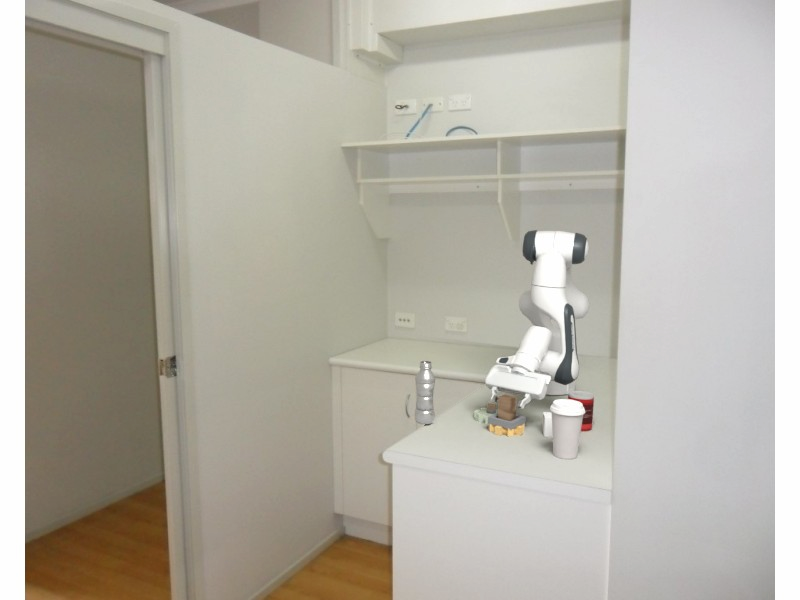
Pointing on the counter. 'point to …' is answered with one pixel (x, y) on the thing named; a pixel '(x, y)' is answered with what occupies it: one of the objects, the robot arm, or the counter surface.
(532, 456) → the counter surface
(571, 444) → the coffee cup
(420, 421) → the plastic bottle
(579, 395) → the canned food
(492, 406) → the gear
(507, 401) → the peg
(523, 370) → the robot arm
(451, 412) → the counter surface
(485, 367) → the counter surface
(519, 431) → the frame
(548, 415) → the white cube
